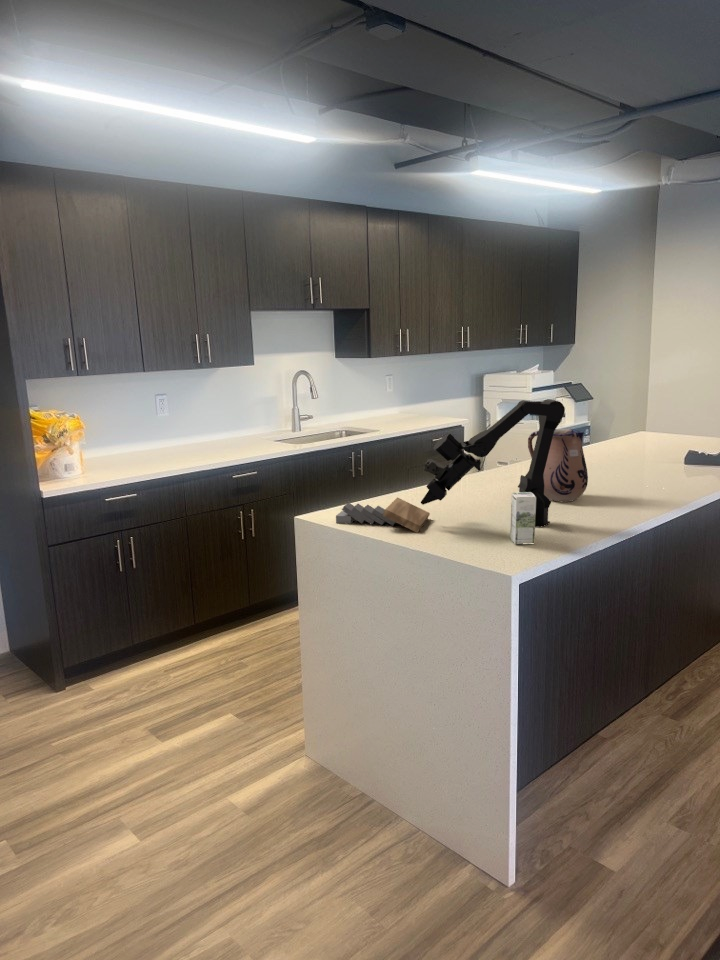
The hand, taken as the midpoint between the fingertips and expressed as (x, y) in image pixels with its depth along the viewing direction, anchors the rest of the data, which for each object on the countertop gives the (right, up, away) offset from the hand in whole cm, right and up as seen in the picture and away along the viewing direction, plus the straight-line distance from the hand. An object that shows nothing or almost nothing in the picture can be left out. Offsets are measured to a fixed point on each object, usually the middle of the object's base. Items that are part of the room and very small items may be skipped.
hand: (422, 502), depth 220 cm
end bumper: (-24, -6, +9) cm, 27 cm away
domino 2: (-15, -6, +6) cm, 17 cm away
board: (+1, -6, +1) cm, 7 cm away
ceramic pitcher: (+51, 0, +32) cm, 60 cm away
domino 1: (-18, -6, +7) cm, 20 cm away
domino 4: (-8, -6, +4) cm, 11 cm away
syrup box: (+27, -11, -18) cm, 35 cm away
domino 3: (-12, -6, +5) cm, 14 cm away
